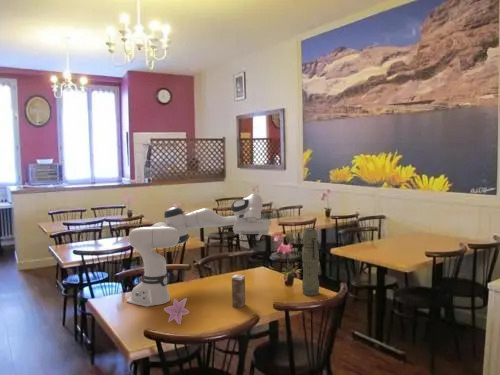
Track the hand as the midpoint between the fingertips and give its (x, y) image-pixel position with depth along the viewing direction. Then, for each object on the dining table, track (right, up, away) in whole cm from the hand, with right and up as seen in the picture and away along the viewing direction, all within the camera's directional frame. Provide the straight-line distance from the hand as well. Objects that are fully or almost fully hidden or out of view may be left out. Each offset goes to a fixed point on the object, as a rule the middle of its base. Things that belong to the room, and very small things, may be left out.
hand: (249, 239), depth 237 cm
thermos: (+33, -29, -4) cm, 44 cm away
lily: (-33, -33, -38) cm, 60 cm away
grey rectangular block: (-5, -31, -20) cm, 37 cm away
